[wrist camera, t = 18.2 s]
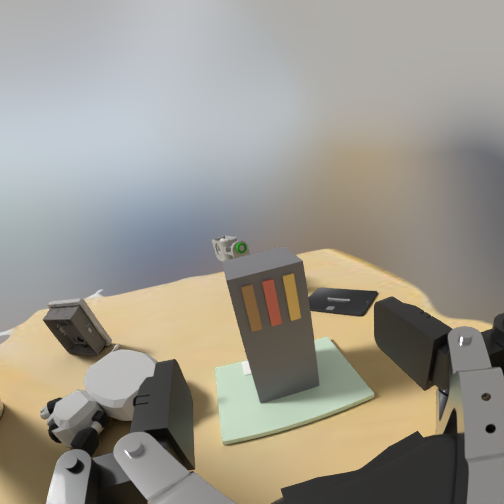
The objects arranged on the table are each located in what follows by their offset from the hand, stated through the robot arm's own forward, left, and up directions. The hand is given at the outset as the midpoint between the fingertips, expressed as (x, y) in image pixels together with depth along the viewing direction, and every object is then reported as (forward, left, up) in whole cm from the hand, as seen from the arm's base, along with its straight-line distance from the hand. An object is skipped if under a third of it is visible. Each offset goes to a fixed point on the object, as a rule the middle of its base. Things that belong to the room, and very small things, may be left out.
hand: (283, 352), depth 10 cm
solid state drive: (+13, +26, -13) cm, 32 cm away
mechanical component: (0, +39, -13) cm, 41 cm away
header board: (+1, +12, -12) cm, 17 cm away
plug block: (+1, +13, -12) cm, 17 cm away
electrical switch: (-27, +29, -13) cm, 41 cm away
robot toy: (-17, +12, -13) cm, 25 cm away
